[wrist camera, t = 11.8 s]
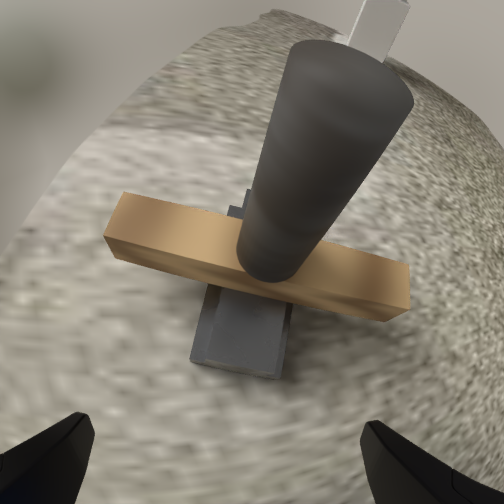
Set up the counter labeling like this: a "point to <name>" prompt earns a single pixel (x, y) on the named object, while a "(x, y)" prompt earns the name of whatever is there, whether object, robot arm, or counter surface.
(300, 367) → the counter surface
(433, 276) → the counter surface
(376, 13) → the milk carton
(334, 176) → the tan grey t-shaped tool
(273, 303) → the ridge stand
